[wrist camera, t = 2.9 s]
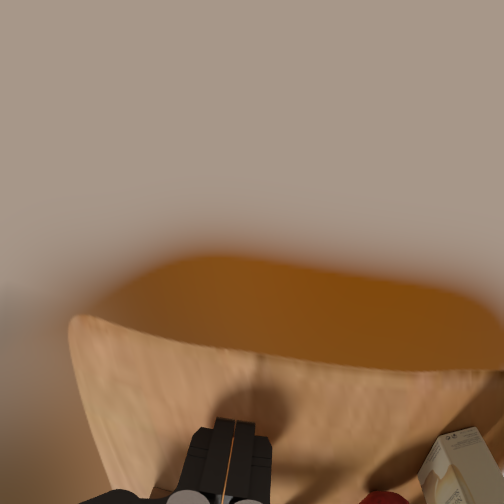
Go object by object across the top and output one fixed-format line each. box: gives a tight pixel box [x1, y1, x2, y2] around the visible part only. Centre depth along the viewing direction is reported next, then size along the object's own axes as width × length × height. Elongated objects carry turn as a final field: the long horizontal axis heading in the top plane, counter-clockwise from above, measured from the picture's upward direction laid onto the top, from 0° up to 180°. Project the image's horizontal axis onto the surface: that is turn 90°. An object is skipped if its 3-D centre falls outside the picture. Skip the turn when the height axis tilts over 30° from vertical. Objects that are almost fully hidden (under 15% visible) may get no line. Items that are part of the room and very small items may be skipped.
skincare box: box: [417, 427, 504, 504], centre depth 14 cm, size 6×4×12 cm
